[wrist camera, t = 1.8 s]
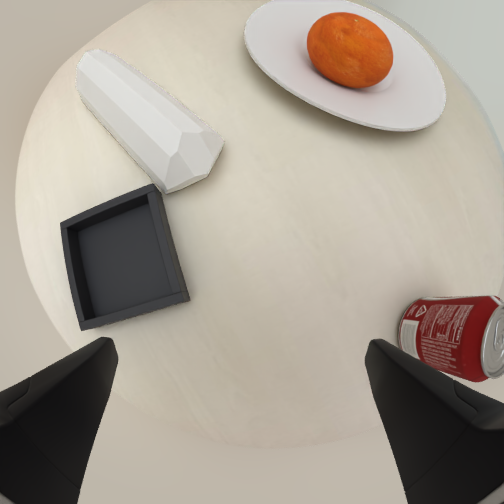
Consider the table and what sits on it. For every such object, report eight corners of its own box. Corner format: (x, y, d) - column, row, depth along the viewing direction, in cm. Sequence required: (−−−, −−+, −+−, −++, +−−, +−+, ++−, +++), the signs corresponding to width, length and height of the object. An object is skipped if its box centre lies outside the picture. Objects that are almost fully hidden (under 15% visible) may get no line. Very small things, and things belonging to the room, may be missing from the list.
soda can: (390, 361, 24) (468, 394, 12) (398, 295, 25) (484, 292, 13) (437, 358, 24) (515, 379, 12) (445, 298, 25) (527, 295, 13)
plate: (330, -1, 32) (339, -35, 23) (456, 97, 29) (484, 69, 21) (200, 46, 29) (192, -2, 20) (368, 190, 26) (410, 153, 18)
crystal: (255, 128, 22) (124, 37, 24) (193, 152, 18) (74, 48, 20) (227, 182, 28) (116, 82, 30) (174, 213, 24) (71, 96, 26)
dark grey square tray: (190, 300, 24) (184, 301, 22) (94, 328, 23) (80, 330, 21) (161, 192, 25) (153, 182, 23) (73, 228, 25) (59, 222, 22)
